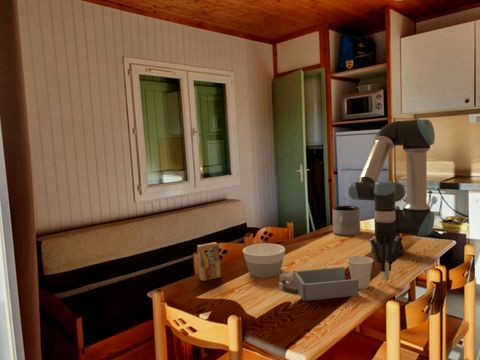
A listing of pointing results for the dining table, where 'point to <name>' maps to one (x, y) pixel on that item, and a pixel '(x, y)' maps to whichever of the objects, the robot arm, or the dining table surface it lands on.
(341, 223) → the planter
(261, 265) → the bowl
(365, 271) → the cup
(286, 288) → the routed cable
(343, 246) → the dining table surface
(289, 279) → the clamp and clip
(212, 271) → the candy box
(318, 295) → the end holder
